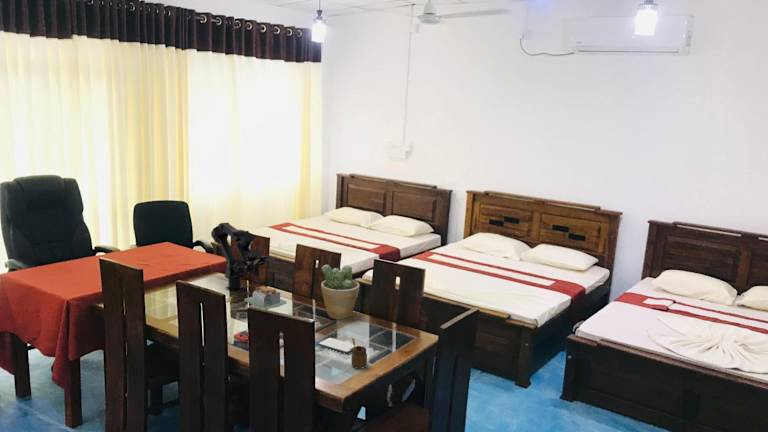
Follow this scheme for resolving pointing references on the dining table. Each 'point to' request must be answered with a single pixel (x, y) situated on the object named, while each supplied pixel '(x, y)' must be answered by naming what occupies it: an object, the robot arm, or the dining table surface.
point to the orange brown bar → (267, 289)
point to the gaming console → (242, 336)
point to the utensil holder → (359, 355)
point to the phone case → (337, 345)
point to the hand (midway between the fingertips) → (258, 277)
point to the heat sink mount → (265, 299)
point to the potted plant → (339, 291)
